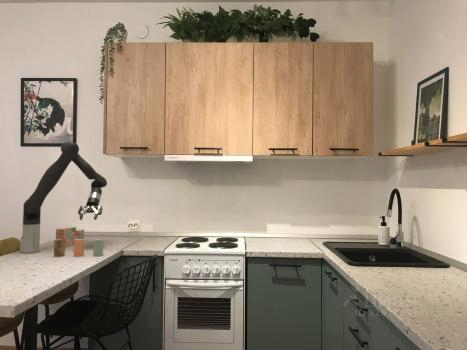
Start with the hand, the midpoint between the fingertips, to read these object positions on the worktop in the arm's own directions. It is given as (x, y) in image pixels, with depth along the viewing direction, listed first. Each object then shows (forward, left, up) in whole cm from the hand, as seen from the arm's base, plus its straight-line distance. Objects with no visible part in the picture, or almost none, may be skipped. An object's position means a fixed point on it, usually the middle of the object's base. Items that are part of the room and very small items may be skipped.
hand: (87, 219), depth 204 cm
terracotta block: (0, -14, -20) cm, 25 cm away
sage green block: (+11, -14, -20) cm, 27 cm away
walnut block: (-11, -14, -20) cm, 27 cm away
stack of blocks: (-19, +25, -21) cm, 37 cm away
